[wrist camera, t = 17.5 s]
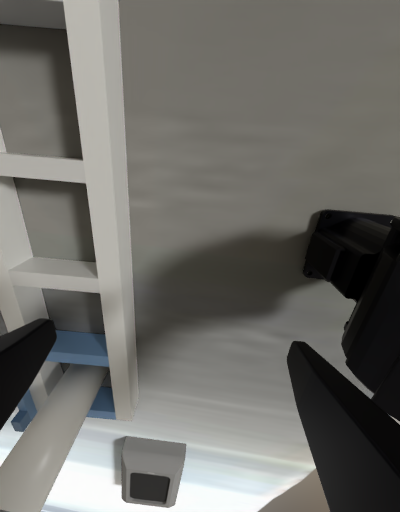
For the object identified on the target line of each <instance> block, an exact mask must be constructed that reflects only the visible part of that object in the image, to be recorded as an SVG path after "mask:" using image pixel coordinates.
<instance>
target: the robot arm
mask: <svg viewBox="0 0 400 512" xmlns="http://www.w3.org/2000/svg"><path fill="white" fill-rule="evenodd" d="M328 213H329V216H328V217H327V218H325V216H326V214H328ZM391 220H392V222H391V223H390V221H391ZM305 259H306V262H305V266H304V269H303V274H304V275H305V276H306V277H307V278H316V279H325V280H326V281H327V282H330V283H331V284H332V285H333V286H334V287H335V288H336V289H337V290H338V291H339V292H340V293H341V294H342V295H343V296H344V297H345V298H348V299H353V300H354V301H355V302H356V306H355V308H354V310H353V312H352V314H351V317H350V319H349V321H347V322H346V324H345V326H344V331H345V332H344V334H343V336H342V343H341V345H342V348H343V351H344V353H345V356H346V358H347V359H346V362H345V363H346V365H347V366H348V367H349V369H350V370H351V371H352V373H353V374H354V375H355V376H356V378H357V379H358V380H359V381H360V382H361V383H362V384H363V385H364V386H365V387H366V388H367V389H369V390H370V391H371V392H372V393H374V395H373V397H372V398H371V399H370V398H368V397H367V396H366V395H365V394H364V393H363V392H362V391H360V390H359V389H358V388H357V387H356V386H355V385H354V384H352V383H351V382H350V381H349V380H348V379H347V378H346V377H344V376H343V375H342V374H341V373H340V372H339V371H338V370H336V369H335V368H334V367H333V366H332V365H331V364H330V363H328V362H327V361H326V360H325V359H324V358H323V357H322V356H320V355H319V354H318V353H317V352H316V351H315V350H313V349H312V348H311V347H310V346H309V345H308V344H307V343H305V342H301V341H293V342H292V344H291V347H290V350H289V353H288V356H287V365H288V369H289V374H290V378H291V383H292V388H293V392H294V397H295V401H296V405H297V409H298V412H299V416H300V419H301V422H302V425H303V428H304V431H305V434H306V437H307V441H308V444H309V447H310V450H311V453H312V456H313V459H314V462H315V466H316V469H317V472H318V475H319V478H320V481H321V484H322V487H323V490H324V493H325V497H326V500H327V503H328V506H329V509H330V512H400V425H399V424H398V423H397V422H396V421H395V420H394V419H393V418H391V417H390V416H392V417H394V418H395V419H397V420H398V421H400V217H396V216H393V215H384V214H373V213H362V212H351V211H340V210H329V209H327V210H324V211H323V212H322V213H321V214H320V217H319V221H318V224H317V227H316V230H315V232H314V233H313V234H312V237H311V241H310V244H309V247H308V250H307V254H306V257H305ZM308 271H311V272H310V273H308V274H307V272H308ZM56 339H57V334H56V330H55V326H54V322H53V320H52V319H47V318H39V319H37V320H35V321H32V322H30V323H28V324H26V325H24V326H22V327H20V328H17V329H15V330H13V331H11V332H9V333H7V334H5V335H2V336H0V430H1V429H2V427H3V426H4V424H5V423H6V421H7V420H8V418H9V417H10V416H11V414H12V413H13V411H14V410H15V408H16V407H17V405H18V404H19V402H20V401H21V399H22V398H23V396H24V395H25V393H26V392H27V391H28V389H29V387H30V386H31V384H32V383H33V381H34V379H35V378H36V376H37V374H38V373H39V371H40V369H41V367H42V365H43V364H44V362H45V360H46V358H47V356H48V355H49V353H50V351H51V349H52V348H53V346H54V344H55V342H56ZM388 414H389V415H390V416H389V415H388Z"/></svg>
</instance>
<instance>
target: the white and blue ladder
mask: <svg viewBox="0 0 400 512" xmlns="http://www.w3.org/2000/svg"><path fill="white" fill-rule="evenodd" d="M0 24H8V25H20V26H31V27H43V28H54V29H66V30H67V36H68V44H69V51H70V59H71V67H72V75H73V83H74V91H75V99H76V107H77V115H78V123H79V130H80V138H81V146H82V154H83V159H77V158H66V157H55V156H43V155H32V154H21V153H10V152H6V148H5V144H4V140H3V136H2V132H1V128H0V311H1V313H2V316H3V319H4V322H5V324H6V327H7V330H8V333H9V332H11V331H13V330H15V329H17V328H20V327H22V326H24V325H26V324H28V323H30V322H32V321H35V320H37V319H39V318H47V319H49V316H48V312H47V309H46V305H45V301H44V297H43V293H42V289H41V288H49V289H60V290H70V291H81V292H92V293H100V296H101V304H102V312H103V320H104V328H105V334H94V333H83V332H72V331H61V330H56V334H57V339H56V342H55V344H54V346H53V348H52V349H51V351H50V353H49V355H48V356H47V358H46V360H45V362H44V364H43V365H42V367H41V369H40V371H39V373H38V374H37V376H36V378H35V379H34V381H33V383H32V384H31V386H30V387H29V389H28V391H27V392H26V393H25V395H24V396H23V398H22V399H21V401H20V402H19V404H18V405H17V406H18V409H19V412H18V413H17V414H16V416H15V417H14V418H13V420H12V421H11V423H12V425H13V428H14V430H15V431H19V432H24V431H25V429H26V428H27V426H28V425H29V423H30V422H31V421H32V420H33V418H34V417H35V415H36V414H37V412H38V411H39V409H40V408H41V407H42V405H43V404H44V402H45V401H46V399H47V398H48V396H49V395H50V393H51V392H52V390H53V389H54V388H55V386H56V385H57V383H58V382H59V380H60V379H61V377H62V376H63V371H62V367H61V363H60V362H62V363H73V364H84V365H94V366H105V367H110V375H111V383H112V388H109V387H100V389H99V391H98V393H97V395H96V397H95V399H94V401H93V403H92V405H91V408H90V410H89V412H88V414H87V416H86V417H92V418H103V419H114V420H124V421H132V419H133V416H134V413H135V409H136V406H137V402H138V399H139V387H138V368H137V349H136V329H135V310H134V291H133V272H132V252H131V233H130V214H129V194H128V175H127V156H126V136H125V117H124V98H123V78H122V59H121V40H120V21H119V1H118V0H0ZM13 177H22V178H33V179H44V180H55V181H66V182H77V183H86V186H87V194H88V201H89V209H90V217H91V225H92V233H93V241H94V249H95V257H96V262H86V261H75V260H64V259H53V258H42V257H33V254H32V250H31V246H30V242H29V238H28V234H27V230H26V226H25V222H24V218H23V215H22V211H21V207H20V203H19V199H18V195H17V191H16V187H15V183H14V179H13Z"/></svg>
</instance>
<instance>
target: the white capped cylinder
mask: <svg viewBox="0 0 400 512" xmlns="http://www.w3.org/2000/svg"><path fill="white" fill-rule="evenodd" d="M108 370H109V367H105V366H94V365H84V364H73V363H71V364H70V366H69V367H68V368H67V370H66V371H65V373H64V374H63V376H62V377H61V379H60V380H59V382H58V383H57V385H56V386H55V388H54V389H53V390H52V392H51V393H50V395H49V396H48V398H47V399H46V401H45V402H44V404H43V405H42V407H41V408H40V409H39V411H38V412H37V414H36V415H35V417H34V418H33V420H32V421H31V423H30V424H29V426H28V427H27V429H26V430H25V431H24V433H23V434H22V436H21V437H20V439H19V440H18V442H17V443H16V445H15V446H14V448H13V449H12V450H11V452H10V453H9V455H8V456H7V458H6V459H5V461H4V462H3V464H2V465H1V467H0V512H40V511H41V509H42V507H43V505H44V503H45V501H46V499H47V497H48V495H49V493H50V491H51V489H52V486H53V484H54V482H55V480H56V478H57V476H58V474H59V472H60V470H61V468H62V466H63V464H64V462H65V459H66V457H67V455H68V453H69V451H70V449H71V447H72V445H73V443H74V441H75V439H76V437H77V435H78V432H79V430H80V428H81V426H82V424H83V422H84V420H85V418H86V416H87V414H88V412H89V410H90V408H91V405H92V403H93V401H94V399H95V397H96V395H97V393H98V391H99V389H100V387H101V385H102V383H103V381H104V378H105V376H106V374H107V372H108Z"/></svg>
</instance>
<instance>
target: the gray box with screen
mask: <svg viewBox="0 0 400 512" xmlns="http://www.w3.org/2000/svg"><path fill="white" fill-rule="evenodd" d="M185 454H186V444H183V443H176V442H168V441H160V440H153V439H145V438H137V437H130V436H126V439H125V442H124V446H123V449H122V499H123V500H124V501H125V502H126V503H134V504H142V505H150V506H158V507H166V508H169V507H171V506H174V505H175V502H176V498H177V493H178V489H179V484H180V480H181V475H182V471H183V467H184V461H185Z"/></svg>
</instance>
